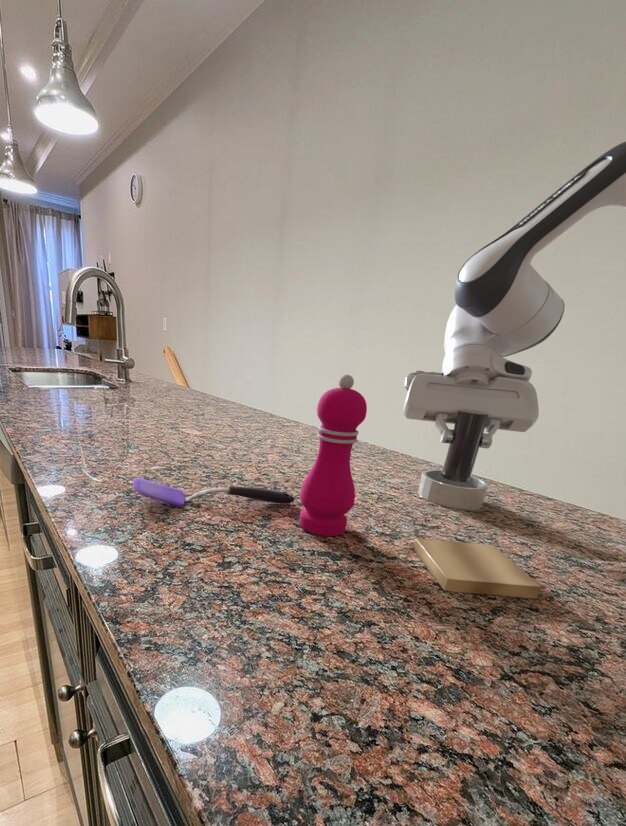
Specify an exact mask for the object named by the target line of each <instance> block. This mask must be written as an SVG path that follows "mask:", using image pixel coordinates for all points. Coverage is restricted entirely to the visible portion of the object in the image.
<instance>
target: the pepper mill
mask: <svg viewBox="0 0 626 826" xmlns="http://www.w3.org/2000/svg"><path fill="white" fill-rule="evenodd" d="M354 383H355V380H354V378H353V376H352V375H350V374H343V375H342V376H341V377H340V378H339V380H338V386H339V387H333V388H331V389H329V390H327V391H326V392H324V393H323V394H322V395H321V396H320V398H319V399H318V402H317V406H316V415H317V417H318V420H319V421H320V423H321V425H318V427H317V430H318V432H317V433H316V437H317V438H318V439H319V445H318V451H317V455H316V458H315V461H314V463H313V465H312V467H311V469H310V470H309V472H308V474H307V475H306V477H305V478H304V479H303V482H302V484H301V487H300V491H299V500H300V501H299V502H300V503H301V504H302V506H303V507H304V508H303V509H302V510H301V511H300V514H299V521H298V522H299V526H300V527H301V529H303V530H304V531H306V532H308V533H311V534H313V535H317V536H322V537H336V536H337V537H338V536H341V535H343V534H344V533H345V532H346V528H347V527H346V526H347V523H348V517H347V516H346V514H347V513H348V512H350V511H351V510H352V508H353V507H354V505H355V501H356V489H355V485H354V480H353V477H352V472H351V471H352V470H351V453H352V449H353V445H354V444H355V443H357V442H358V435H359V433H360V432H359V430H357V428H358V427H359V426H361V424H362V423H363V422H364V421H365V419H366V417H367V411H368V406H367V401H366V399H365V397H364V395H362V393H360V392H359V391H357V390H355V389H353V386H354Z"/></svg>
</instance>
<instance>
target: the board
mask: <svg viewBox="0 0 626 826" xmlns="http://www.w3.org/2000/svg"><path fill="white" fill-rule="evenodd" d="M412 549H413V551H414V552H415V554H416V555H417V556H418V558H419V559H420V560H421V562H422V563H423V564H424V566H425V567H426V568H427V570H428V571H429V572H430V573H431V575H432V576H433V578H434V579H435V581H436V582H437V583H438V584H439V586H440V587H441V589H442V590H443V591H444V592H453V593H464V594H465V593H467V594H477V595H488V596H489V595H490V596H498V597H499V596H500V597H511V598H522V599H524V598H525V599H534V600H535V599H538V597H539V595H540V591H541V589H542V586H541V585H540V584H538V582H537V581H535V579H533V578H532V577H531V576H530V575H529V574H527V573H526V571H524V570H523V569H522V568H521V567H519V566H518V564H516V563H515V562H514V561H513V560H511V559H510V558H509V557H508V556H507V555H506V554H505V553H504V552H502V551H501V550H500V549H499V548H498V547H497V546H496V545H495V544H487V543H486V544H485V543H473V542H463V541H453V540H440V539H429V538H415V539H414V544H413V547H412Z"/></svg>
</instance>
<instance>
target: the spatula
mask: <svg viewBox="0 0 626 826" xmlns="http://www.w3.org/2000/svg"><path fill="white" fill-rule="evenodd" d="M132 488H133V490H134V491H135V492H137V493H138V494H139V495H141V496H143V497H145V498H148V499H153V500H156V501H160V502H164V503H167V504H170V505H173V506H176V507H180V508H182V507H184V506H185V504H186V503H190V502H191V501H193V500H194V499H197V498H199V497H202V496H205V495H208V494H215V493H228V494H229V495H231V496H237V497H242V498H247V499H252V500H256V501H262V502H267V503H271V504H272V503H273V504H274V503H275V504H292V503H293V502H295V497H294V496H293V495H291V494H289V493H286V492H282V491H278V490H273V489H267V488H257V487H249V486H248V487H247V486H238V485H229V486H228V487H213V488H207V489H205V490H200V491H199V492H196V493H194V494H192V495H190V496H187V497H186V496H185V493H184V491H182V490H180V489H178V488H174V487H172V486H168V485H165V484H162V483H159V482H154V481H151V480H148V479H145V478H142V477H134V478H133V482H132Z"/></svg>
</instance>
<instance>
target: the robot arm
mask: <svg viewBox="0 0 626 826" xmlns="http://www.w3.org/2000/svg"><path fill="white" fill-rule="evenodd" d="M609 206H610V207H611V206H613V207H620V208H622V209H625V210H626V141H623V142H620V143H619V144H616V145H615V146H613V147H612V148H611V149H609V150H607V151H605V152H604V153H603V154H601V155H600V156H598V157H597V158H596V159H595V160H593V161H592V162H591V163H589V164H588V165H587V166H585V167H584V168H583V169H582V170H581V171H579V172H577V173H576V174H575V175H573V176H572V177H571V178H570V179H569V180H567V181H566V182H565V183H564V184H563V185H562V186H561V187H559V188H558V189H557V190H555V191H554V192H553V193H552V194H551V195H550V196H548V197H547V198H546V199H544V201H542V202H541V203H540V204H538V206H536V207H535V208H534V209H533V210H531V211H530V212H529V213H528V214H527V215H525V216H524V217H523V218H521V219H520V220H519V221H518V222H517V223H516V224H514V225H513V226H512V227H511V228H510V229H508V230H507V231H506V232H503V234H502V235H500V236H498V237H497V238H495V239H494V240H493V241H491V242H490V243H489V242H488V243H487V244H486V245H485V246H483V247H481V248H480V249H479V250H478V251H477V252H475V253H473V255H471V256H470V257H469V258H468V259H467V260H466V261H465V262H464V263H463V265H462V266H461V267H460V269H459V271H458V273H457V275H456V280H455V284H454V285H455V286H454V302H455V306H453V308H452V310H451V312H450V314H449V317H448V320H447V322H446V327H445V332H444V340H443V350H444V354H445V355H444V357H443V360H442V366H441V372H437V371H424V370H415V372H411V373H409V374H407V375H406V377H405V380H404V387H405V390H406V391H407V393H406V397H405V400H404V404H403V408H402V414H403V416H404V417H405V418H406V419H407V420H408V419H409V420H416V421H422V422H423V421H424V422H431V423H432V422H433V423H434V428H436V431H438V433H439V435H440V443H441V444H448V445H449V444H450V443H451V441H452V440H453V433H454V432H453V429H452V428H449V427H448V425H447V424H449V425H455V421H456V417H457V413H458V410H460V409H465V410H474V411H481V412H485V413H488V414H489V415H488V419H487V422H486V426H485V432H486V433H485V432H484V433H483V436H482V440H481V443H480V447H479V449H480V448H481V449H486V450H487V449H490V447H491V446H492V444H493V436H494V435H495V434H496V433H497V431H498V430H501V431H510V432H518V433H526V432H527V431H529V429H531V428H532V427H533V426H534V425H535V424H536V422H537V421H538V418H539V416H540V415H539V413H540V409H539V401H538V394H537V390H536V388H535V386H534V385H533V384H532V382H530V381H531V377H532V376H533V371H532V369H531V367H529V366H526V365H524V364H520V363H517V362H514V361H512V360H509V359H507V358H506V357H509V356H513V355H516V354H518V353H521V352H524V351H527V350H530V349H532V348H534V347H536V346H538V345H540V344H541V343H543V342H544V341H545V340H547V339H549V337H550V336H551V335H552V334H553V333H554V332H555V331H556V329H557V328H558V326H559V325H560V323H561V321H562V318H563V316H564V313H565V302H564V299H563V298H561V296H560V295H559V294H558V292H557V291H556V290H555V289H554V288H553V287H552V286H551V284H550V283H549V282H548V281H547V280H546V279H544V278H543V276H541V274H539V273H538V271H537V270H536V269H535V268H534V267H533V265H532V264H531V262H532V260H533V259H534V257H535V256H536V255H537V254H538V253H539V252H541V251H542V250H543V249H544V248H546V247H547V246H548V245H549V244H551V243H552V242H553V241H555V240H556V239H557V238H558V237H560V236H562V234H564V233H565V232H566V231H568V230H570V228H571V227H573V226H574V225H575V224H577V223H578V222H579V221H581V220H582V219H583V218H584V217H586V216H587V215H589V214H590V213H592V212H595V211H596V210H598V209H601V208H603V207H609Z"/></svg>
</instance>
